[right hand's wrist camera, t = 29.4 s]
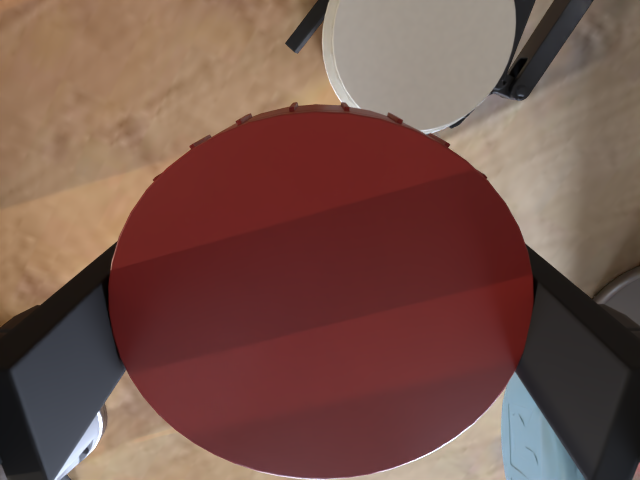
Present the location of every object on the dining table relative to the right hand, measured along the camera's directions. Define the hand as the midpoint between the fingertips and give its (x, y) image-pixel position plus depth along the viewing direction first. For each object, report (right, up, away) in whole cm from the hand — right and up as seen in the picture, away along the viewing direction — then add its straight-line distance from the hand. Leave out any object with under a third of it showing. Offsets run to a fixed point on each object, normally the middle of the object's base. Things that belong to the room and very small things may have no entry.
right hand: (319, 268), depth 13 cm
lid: (0, -1, -3) cm, 3 cm away
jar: (+5, +16, +19) cm, 25 cm away
